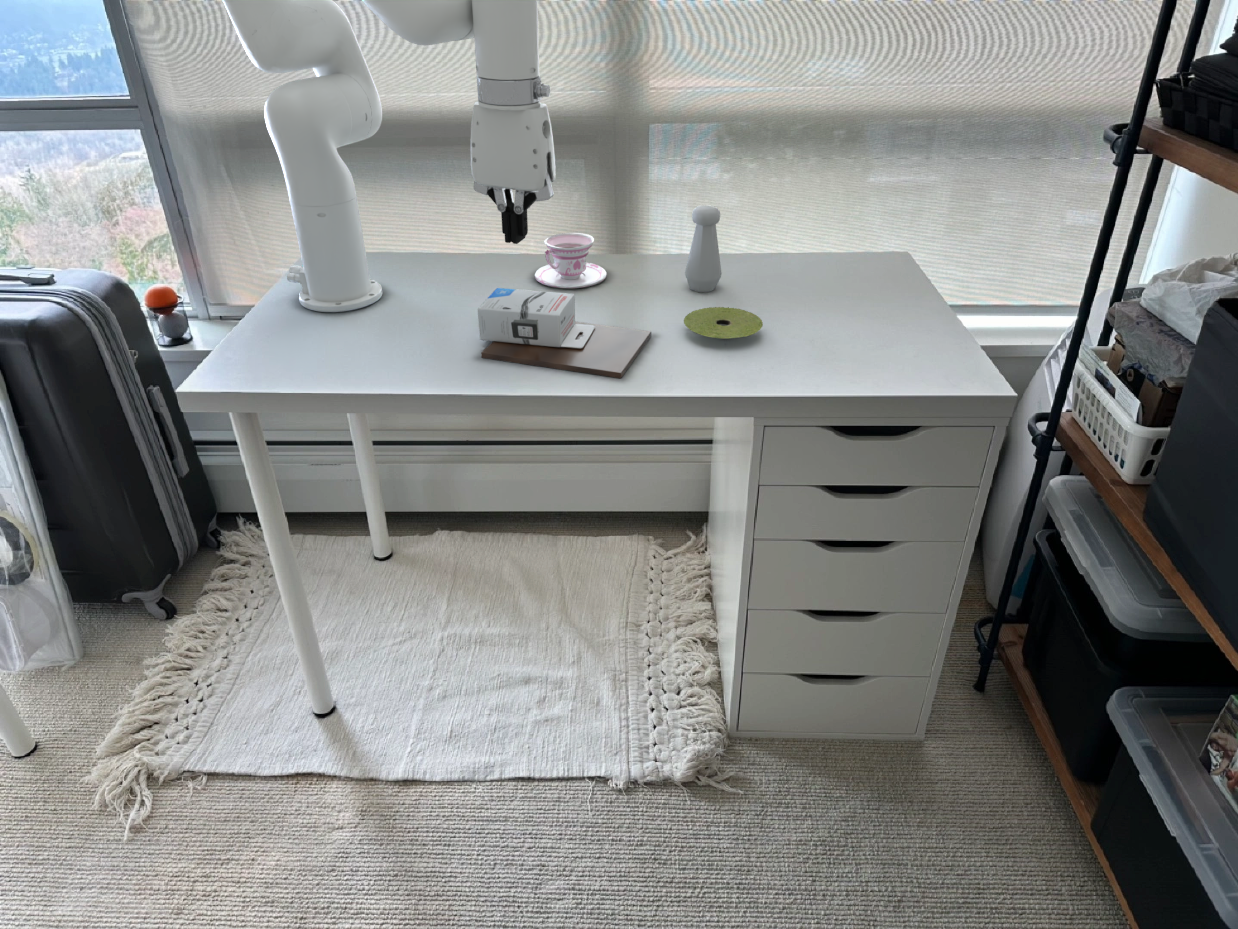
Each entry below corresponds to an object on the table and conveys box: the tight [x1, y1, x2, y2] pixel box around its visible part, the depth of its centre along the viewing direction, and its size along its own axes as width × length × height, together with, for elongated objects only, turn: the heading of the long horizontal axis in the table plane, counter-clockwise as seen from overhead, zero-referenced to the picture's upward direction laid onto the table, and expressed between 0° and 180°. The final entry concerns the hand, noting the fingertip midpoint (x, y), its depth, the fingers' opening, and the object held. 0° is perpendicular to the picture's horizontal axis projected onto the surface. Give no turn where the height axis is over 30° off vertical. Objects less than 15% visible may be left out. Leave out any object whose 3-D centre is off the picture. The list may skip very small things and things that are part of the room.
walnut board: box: [480, 320, 652, 379], centre depth 119 cm, size 20×14×1 cm
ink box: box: [477, 287, 595, 349], centre depth 120 cm, size 9×5×15 cm
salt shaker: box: [684, 204, 723, 293], centre depth 135 cm, size 6×6×13 cm
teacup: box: [534, 232, 607, 289], centre depth 141 cm, size 12×12×6 cm
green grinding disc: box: [683, 306, 764, 340], centre depth 123 cm, size 11×11×2 cm
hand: (515, 239), depth 114 cm, fingers closed
